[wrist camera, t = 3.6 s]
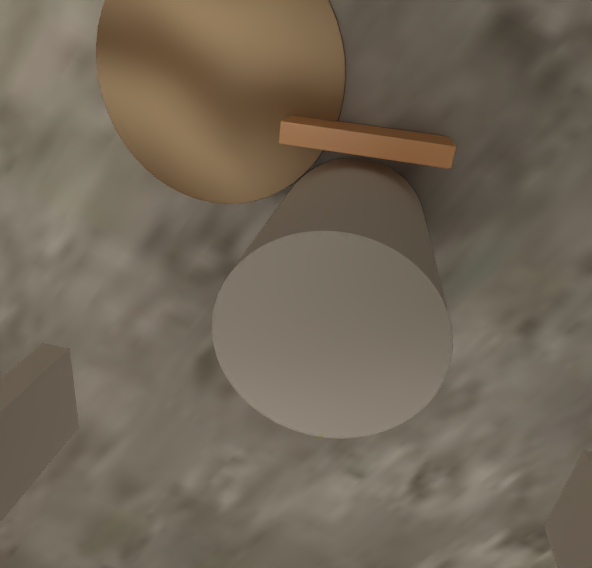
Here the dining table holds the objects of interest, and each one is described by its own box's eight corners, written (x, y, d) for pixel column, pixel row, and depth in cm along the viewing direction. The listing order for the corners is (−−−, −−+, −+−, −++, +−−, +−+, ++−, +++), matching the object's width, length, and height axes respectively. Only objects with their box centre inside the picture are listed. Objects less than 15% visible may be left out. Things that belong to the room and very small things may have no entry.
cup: (251, 228, 28) (167, 335, 17) (352, 124, 24) (326, 175, 14) (349, 320, 29) (328, 470, 19) (456, 233, 26) (507, 356, 15)
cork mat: (91, -90, 22) (86, -93, 22) (367, -62, 21) (366, -64, 21) (107, 182, 28) (104, 184, 28) (325, 218, 27) (324, 220, 26)
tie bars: (292, 114, 25) (280, 121, 22) (448, 136, 24) (456, 146, 21) (271, 307, 30) (260, 331, 27) (400, 331, 29) (401, 358, 26)
